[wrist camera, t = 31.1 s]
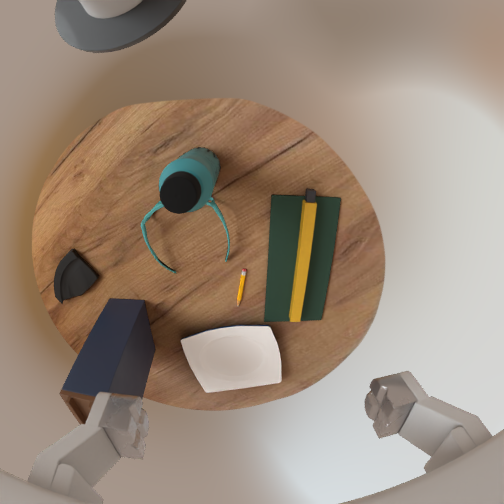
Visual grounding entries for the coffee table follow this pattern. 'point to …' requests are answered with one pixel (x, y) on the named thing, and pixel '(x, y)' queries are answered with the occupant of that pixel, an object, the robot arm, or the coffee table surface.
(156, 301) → the coffee table surface
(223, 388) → the plate
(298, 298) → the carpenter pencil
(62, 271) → the curved wedge
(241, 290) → the pencil
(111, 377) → the blue tall block
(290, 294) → the rubber mat
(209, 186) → the beverage bottle
